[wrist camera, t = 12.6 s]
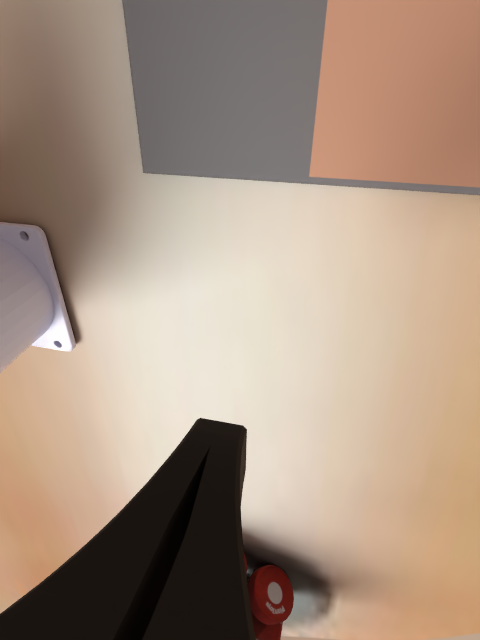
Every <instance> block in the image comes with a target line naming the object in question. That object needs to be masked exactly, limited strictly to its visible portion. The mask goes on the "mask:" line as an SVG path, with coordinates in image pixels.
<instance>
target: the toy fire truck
mask: <svg viewBox="0 0 480 640" xmlns="http://www.w3.org/2000/svg"><path fill="white" fill-rule="evenodd" d="M244 560H245V569H246V572H247V562H246V557H245V554H244ZM247 585H248V593H249V600H250V607H251V614H252V620H253V626H254V632H255V638H256V640H280V637H281V631H282V624H283V621H284V620H286V619H287V618H288V616H289V615H290V613H291V611H292V608H293V602H294V596H293V589H292V585H291V583H290V580H289V578H288V577H287V575H286V574H285V573H284V571H283V570H282V569H280V568H279V567H277V566H275V565H265V566H263V567H261V568H258V569H257V570H255V571H254V572H253V574H252V575H251V577H250V579H249V582H248V584H247Z"/></svg>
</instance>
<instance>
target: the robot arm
mask: <svg viewBox="0 0 480 640" xmlns="http://www.w3.org/2000/svg"><path fill="white" fill-rule="evenodd" d="M25 232H26V233H27V234H28V236H29V237H27V236H26V234H25ZM29 346H37V347H44V348H50V349H56V350H62V351H72V350H73V349H74V348H75V346H76V342H75V339H74V335H73V332H72V328H71V325H70V321H69V317H68V314H67V310H66V307H65V303H64V299H63V296H62V292H61V289H60V285H59V282H58V278H57V274H56V271H55V267H54V264H53V260H52V256H51V253H50V249H49V246H48V242H47V238H46V235H45V233H44V231H43V230H42V229H41V228H40V227H38V226H35V225H27V224H17V223H6V222H0V372H2V371H3V370H4V369H5V368H6V367H7V366H8V365H9V364H11V363H12V362H13V361H14V360H15V359H16V358H17V357H18V356H19V355H21V354H22V353H23V352H24V351H25V350H26V349H27V348H28V347H29ZM246 437H247V429H246V428H245V427H244V426H242V425H236V424H231V423H225V422H219V421H214V420H208V419H203V418H200V419H198V420H197V421H196V422H195V423H194V425H193V426H192V428H191V429H190V430H189V432H188V433H187V435H186V436H185V437H184V439H183V440H182V441H181V443H180V444H179V445H178V446H177V448H176V449H175V450H174V451H173V453H172V454H171V455H170V456H169V458H168V459H167V460H166V461H165V462H164V464H163V465H162V466H161V467H160V468H159V469H158V471H157V472H156V473H155V474H154V475H153V477H152V478H151V479H150V480H149V481H148V482H147V483H146V485H145V486H144V487H143V488H142V489H141V490H140V491H139V492H138V493H137V494H136V495H135V496H134V497H133V498H132V500H131V501H130V502H129V503H128V504H127V505H126V506H125V507H124V508H123V509H122V510H121V511H120V512H119V513H118V514H117V515H116V516H115V517H114V518H113V519H112V520H111V521H110V522H109V523H108V524H107V525H106V526H105V527H104V528H103V529H102V530H101V531H100V532H99V533H98V534H96V535H95V536H94V537H93V538H92V539H91V540H90V541H89V542H88V543H87V544H86V545H85V546H83V547H82V548H81V549H80V550H79V551H78V552H77V553H75V554H74V555H73V556H72V557H71V558H70V559H68V560H67V561H66V562H65V563H64V564H63V565H62V566H60V567H59V568H58V569H57V570H56V571H54V572H53V573H52V574H51V575H50V576H48V577H47V578H46V579H45V580H44V581H42V582H41V583H40V584H39V585H37V586H36V587H35V588H33V589H32V590H31V591H29V592H28V593H27V594H26V595H24V596H23V597H22V598H20V599H19V600H18V601H16V602H15V603H14V604H13V605H11V606H10V607H9V608H7V609H6V610H5V611H3V612H2V613H1V614H0V640H256V638H255V632H254V626H253V620H252V614H251V607H250V600H249V593H248V585H247V577H246V569H245V560H244V550H243V539H242V526H241V497H242V489H243V482H244V476H245V470H246Z"/></svg>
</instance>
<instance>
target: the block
mask: <svg viewBox="0 0 480 640" xmlns="http://www.w3.org/2000/svg"><path fill="white" fill-rule="evenodd" d="M309 177H321V178H337V179H353V180H369V181H385V182H401V183H416V184H432V185H448V186H464V187H480V0H328V1H327V11H326V20H325V30H324V40H323V49H322V59H321V68H320V78H319V87H318V97H317V106H316V116H315V125H314V135H313V144H312V154H311V163H310V173H309Z"/></svg>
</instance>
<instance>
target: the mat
mask: <svg viewBox="0 0 480 640" xmlns="http://www.w3.org/2000/svg"><path fill="white" fill-rule="evenodd" d="M122 1H123V9H124V17H125V26H126V34H127V42H128V50H129V59H130V67H131V75H132V83H133V91H134V100H135V108H136V116H137V124H138V132H139V141H140V149H141V157H142V165H143V173H152V174H167V175H182V176H197V177H212V178H228V179H243V180H258V181H273V182H288V183H303V184H318V185H333V186H348V187H364V188H379V189H394V190H409V191H424V192H439V193H454V194H469V195H480V187H464V186H448V185H432V184H416V183H401V182H385V181H369V180H353V179H337V178H321V177H309V173H310V163H311V154H312V144H313V135H314V125H315V116H316V106H317V97H318V87H319V78H320V68H321V59H322V49H323V40H324V30H325V20H326V11H327V1H328V0H122Z"/></svg>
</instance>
